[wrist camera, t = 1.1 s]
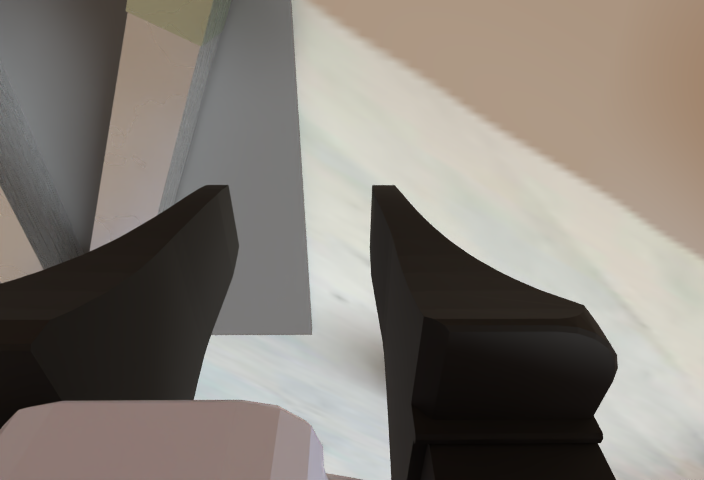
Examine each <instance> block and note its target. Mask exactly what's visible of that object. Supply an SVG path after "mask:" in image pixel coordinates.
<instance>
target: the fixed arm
mask: <svg viewBox="0 0 704 480" xmlns="http://www.w3.org/2000/svg"><path fill="white" fill-rule="evenodd" d="M83 254H84V252H83V250H82V247H81V245H80V243H79V240H78V238H77V236H76V233H75V231H74V229H73V227H72V224H71V222H70V220H69V217H68V215H67V213H66V210H65V208H64V206H63V204H62V201H61V199H60V197H59V194H58V192H57V190H56V187H55V185H54V183H53V181H52V178H51V176H50V174H49V171H48V169H47V167H46V165H45V162H44V160H43V158H42V155H41V153H40V151H39V148H38V146H37V144H36V142H35V139H34V137H33V135H32V132H31V130H30V128H29V125H28V123H27V121H26V119H25V116H24V114H23V112H22V109H21V107H20V105H19V102H18V100H17V98H16V96H15V93H14V91H13V89H12V86H11V84H10V82H9V79H8V77H7V75H6V73H5V70H4V68H3V66H2V63H1V61H0V282H1V283H4V282H8V281H11V280H15V279H18V278H21V277H24V276H27V275H30V274H33V273H36V272H39V271H42V270H44V269H47V268H50V267H52V266H55V265H57V264H60V263H62V262H65V261H68V260H70V259H73V258H75V257H78V256H80V255H83Z"/></svg>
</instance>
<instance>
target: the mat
mask: <svg viewBox="0 0 704 480" xmlns="http://www.w3.org/2000/svg"><path fill="white" fill-rule="evenodd" d="M126 5H127V0H0V61H1V63H2V66H3V68H4V70H5V73H6V75H7V77H8V79H9V82H10V84H11V86H12V89H13V91H14V93H15V96H16V98H17V100H18V102H19V105H20V107H21V109H22V112H23V114H24V116H25V119H26V121H27V123H28V125H29V128H30V130H31V132H32V135H33V137H34V139H35V142H36V144H37V146H38V148H39V151H40V153H41V155H42V158H43V160H44V162H45V165H46V167H47V169H48V171H49V174H50V176H51V178H52V181H53V183H54V185H55V187H56V190H57V192H58V194H59V197H60V199H61V201H62V204H63V206H64V208H65V210H66V213H67V215H68V217H69V220H70V222H71V224H72V227H73V229H74V231H75V233H76V236H77V238H78V240H79V243H80V245H81V247H82V250H83V252H84V254H85V253H87V252H90V246H91V239H92V233H93V227H94V221H95V214H96V208H97V202H98V195H99V189H100V183H101V177H102V170H103V164H104V158H105V151H106V145H107V139H108V133H109V126H110V120H111V114H112V108H113V101H114V95H115V89H116V82H117V76H118V70H119V64H120V57H121V51H122V45H123V38H124V32H125V26H126V20H127V13H128V12H126ZM205 185H229V190H230V196H231V202H232V207H233V213H234V219H235V225H236V230H237V236H238V242H239V250H238V256H237V261H236V265H235V270H234V274H233V278H232V280H231V283H230V286H229V289H228V291H227V294H226V297H225V300H224V302H223V305H222V307H221V310H220V313H219V315H218V318H217V321H216V323H215V326H214V329H213V331H212V334H211V335H312V320H311V304H310V289H309V273H308V257H307V241H306V226H305V210H304V194H303V178H302V163H301V147H300V131H299V115H298V100H297V84H296V68H295V53H294V37H293V21H292V5H291V0H231V4H230V7H229V11H228V14H227V18H226V22H225V25H224V29H223V31H222V32H221V34H220V37H219V41H218V45H217V48H216V52H215V56H214V59H213V63H212V66H211V70H210V74H209V77H208V81H207V85H206V88H205V92H204V96H203V99H202V103H201V106H200V110H199V114H198V117H197V121H196V125H195V128H194V132H193V135H192V139H191V143H190V146H189V150H188V154H187V157H186V161H185V164H184V168H183V172H182V175H181V179H180V183H179V186H178V190H177V193H176V197H175V201H174V204H176V203H177V202H179V201H180V200H182V199H183V198H185V197H186V196H188V195H189V194H191V193H193V192H194V191H196V190H197V189H199V188H201V187H203V186H205ZM174 204H173V205H174ZM0 284H1V282H0Z"/></svg>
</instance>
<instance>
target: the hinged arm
mask: <svg viewBox="0 0 704 480" xmlns="http://www.w3.org/2000/svg"><path fill="white" fill-rule="evenodd" d="M230 4H231V0H127V5H126V12H128V13H127V20H126V26H125V32H124V38H123V45H122V51H121V57H120V64H119V70H118V76H117V82H116V89H115V95H114V101H113V108H112V114H111V120H110V126H109V133H108V139H107V145H106V151H105V158H104V164H103V170H102V177H101V183H100V189H99V195H98V202H97V208H96V214H95V221H94V227H93V233H92V239H91V246H90V251H92V250H94V249H96V248H98V247H100V246H103V245H105V244H107V243H109V242H111V241H113V240H115V239H117V238H119V237H121V236H123V235H124V234H126V233H128V232H130V231H131V230H133V229H135V228H137V227H138V226H140V225H142V224H143V223H145V222H147V221H149V220H150V219H152V218H154V217H155V216H157V215H159V214H160V213H162V212H163V211H165V210H166V209H168V208H169V207H171V206H172V205H173V204H174V201H175V197H176V193H177V190H178V186H179V183H180V179H181V175H182V172H183V168H184V164H185V161H186V157H187V154H188V150H189V146H190V143H191V139H192V135H193V132H194V128H195V125H196V121H197V117H198V114H199V110H200V106H201V103H202V99H203V96H204V92H205V88H206V85H207V81H208V77H209V74H210V70H211V66H212V63H213V59H214V56H215V52H216V48H217V45H218V41H219V37H220V34H221V32H222V31H223V29H224V25H225V22H226V18H227V14H228V11H229V7H230Z"/></svg>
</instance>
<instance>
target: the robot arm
mask: <svg viewBox="0 0 704 480" xmlns="http://www.w3.org/2000/svg"><path fill="white" fill-rule="evenodd" d="M238 250H239V242H238V236H237V230H236V225H235V219H234V213H233V207H232V202H231V196H230V190H229V185H205V186H203V187H201V188H199V189H197V190H196V191H194V192H193V193H191V194H189V195H188V196H186V197H185V198H183V199H182V200H180V201H179V202H177V203H176V204H174V205H172V206H171V207H169V208H168V209H166V210H165V211H163V212H162V213H160V214H159V215H157V216H155V217H154V218H152V219H150V220H149V221H147V222H145V223H143V224H142V225H140V226H138V227H137V228H135V229H133V230H131V231H130V232H128V233H126V234H124V235H123V236H121V237H119V238H117V239H115V240H113V241H111V242H109V243H107V244H105V245H103V246H100V247H98V248H96V249H94V250H92V251H90V252H87V253H85V254H83V255H80V256H78V257H75V258H73V259H70V260H68V261H65V262H62V263H60V264H57V265H55V266H52V267H50V268H47V269H44V270H42V271H39V272H36V273H33V274H30V275H27V276H24V277H21V278H18V279H15V280H11V281H8V282H4V283H1V284H0V480H361V479H356V478H350V477H344V476H339V475H333V474H327V473H325V470H324V457H323V446H322V444H321V442H320V440H319V439H318V437H317V435H316V433H315V431H314V429H313V428H312V426H311V425H310V424H309V423H308V422H306V421H305V420H303V419H302V418H300V417H298V416H296V415H294V414H292V413H291V412H289V411H287V410H285V409H283V408H281V407H279V406H277V405H271V404H264V403H258V402H251V401H244V400H194V396H195V391H196V387H197V383H198V379H199V375H200V371H201V367H202V363H203V359H204V355H205V351H206V348H207V345H208V342H209V339H210V337H211V334H212V331H213V329H214V326H215V323H216V321H217V318H218V315H219V313H220V310H221V307H222V305H223V302H224V300H225V297H226V294H227V291H228V289H229V286H230V283H231V280H232V278H233V274H234V270H235V265H236V261H237V256H238ZM370 261H371V277H372V283H373V289H374V295H375V301H376V306H377V312H378V318H379V323H380V329H381V335H382V341H383V349H384V359H385V374H386V389H387V406H388V423H389V442H390V460H391V480H616V479H615V477H614V475H613V473H612V471H611V469H610V467H609V465H608V463H607V461H606V459H605V457H604V455H603V453H602V451H601V449H600V447H599V445H598V443H601V441H602V440H603V433H602V431H601V429H600V427H599V425H598V423H597V421H596V419H595V418H594V414H595V412H596V410H597V408H598V407H599V405H600V403H601V401H602V400H603V398H604V396H605V394H606V393H607V391H608V389H609V387H610V386H611V384H612V382H613V380H614V377H615V374H616V371H617V369H618V365H617V354H616V353H615V351H614V349H613V348H612V346H611V344H610V343H609V341H608V339H607V338H606V336H605V335H604V333H603V331H602V330H601V328H600V327H599V325H598V324H597V322H596V321H595V320H594V318H593V317H592V315H591V314H590V313H589V311H588V310H587V309H586V308H585V306H584V305H581V304H579V303H576V302H573V301H570V300H567V299H564V298H561V297H558V296H556V295H553V294H550V293H547V292H544V291H541V290H539V289H536V288H534V287H532V286H529V285H527V284H525V283H522V282H520V281H518V280H515V279H513V278H511V277H509V276H507V275H505V274H503V273H501V272H499V271H497V270H495V269H494V268H492V267H490V266H488V265H486V264H485V263H483V262H481V261H479V260H478V259H476V258H474V257H473V256H471V255H470V254H468V253H467V252H465V251H464V250H462V249H461V248H459V247H458V246H457V245H455V244H454V243H452V242H451V241H450V240H448V239H447V238H446V237H445V236H443V235H442V234H441V233H440V232H439V231H438V230H436V229H435V228H434V227H433V226H432V225H431V224H430V223H429V222H428V221H426V219H425V218H424V217H423V216H422V215H421V214H420V213H419V212H418V211H417V210H416V209H415V208H414V207H413V206H412V205H411V204H410V202H409V201H408V200H407V199H406V198H405V197H404V195H403V194H402V193H401V192H400V191H399V190H398V189H397V187H396V186H395V185H372V206H371V231H370Z"/></svg>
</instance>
